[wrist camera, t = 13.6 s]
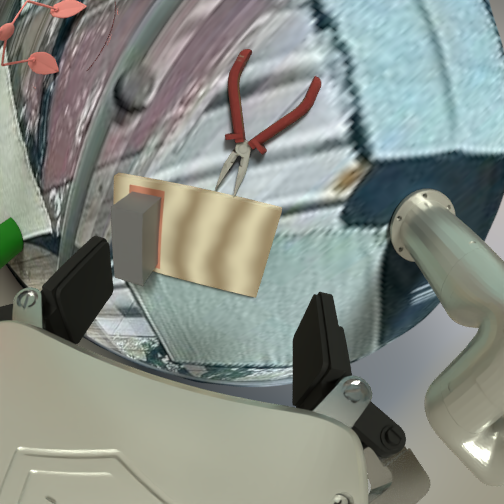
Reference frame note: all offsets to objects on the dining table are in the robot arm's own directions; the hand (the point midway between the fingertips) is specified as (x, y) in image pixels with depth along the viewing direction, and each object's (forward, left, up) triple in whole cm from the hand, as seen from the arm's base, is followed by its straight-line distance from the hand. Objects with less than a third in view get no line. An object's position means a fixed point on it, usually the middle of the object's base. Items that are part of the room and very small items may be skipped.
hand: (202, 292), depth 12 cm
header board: (+8, +14, -28) cm, 33 cm away
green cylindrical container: (+56, +26, -28) cm, 68 cm away
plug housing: (+15, +14, -27) cm, 34 cm away
